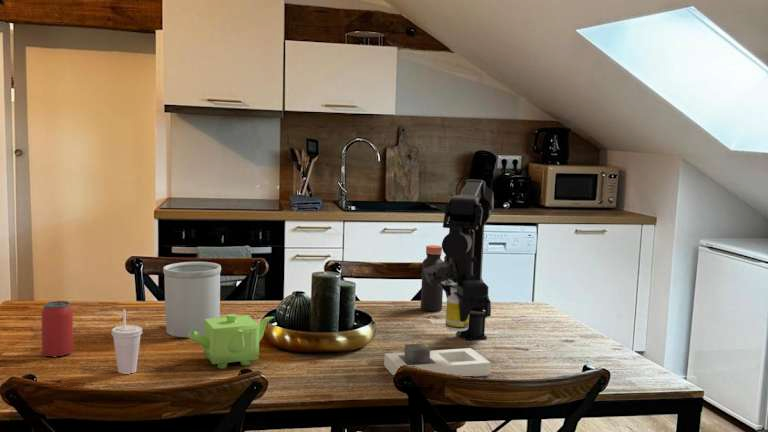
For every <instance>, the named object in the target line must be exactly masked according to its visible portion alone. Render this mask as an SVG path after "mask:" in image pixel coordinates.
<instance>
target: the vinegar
mask: <svg viewBox="0 0 768 432" xmlns="http://www.w3.org/2000/svg"><path fill="white" fill-rule="evenodd" d="M442 252H443V249H442V245H436V244H435V245H434V244H432V245H429V244H428V245H426V246H425V255H426V258H424V260H423V261H422V263H421V264H422V265H421V267H422V268H421V269H422V271H421V288H420V290H421V293H420V309H421V310H422V311H424V312H433V313H435V312H441V311H442V310H443V293H444V290H443V289H442V288H441V287H440V286H439V285H434V286H433V285H431V284H430V283H427V281H426V278H425V274H424V271H423V270H424V269H425V268H428V267H430V266H433V265H435V264H438V263H441V262H444V260H442V258H441V256H442V254H443V253H442ZM440 283H441V282H440Z"/></svg>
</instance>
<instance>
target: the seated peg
mask: <svg viewBox="0 0 768 432" xmlns="http://www.w3.org/2000/svg"><path fill="white" fill-rule="evenodd" d="M430 351H431V348H429V347H428V346H427V345H426V344H424V343H412V344H411V343H410V344H408V343H407V344H404V352H405V355H404V362H405V363H406V364H407V365H419V364H429V363H430Z"/></svg>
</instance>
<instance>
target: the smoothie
mask: <svg viewBox="0 0 768 432" xmlns="http://www.w3.org/2000/svg"><path fill="white" fill-rule="evenodd" d="M126 313H127V311H126V308H125V309H122V325H119V326H116V327H114V328H112V329H111V336H112V338H113V343H114V344H113V345H114V352H115V357H116V358H115V359H116V365H117V366H116V367H117V372H119V373H123V374H129V375H131V374H130V373H133V374H135V373H136V372H137V369H138V368H137V366H138V360H139V359H138V357H139V352H140V343H141V342H140V341H141V337H142V336H141V335H142V334H143V327H141V326H140V325H133V324H129V325H127V322H126V321H127V320H126V319H127V318H126V317H127V316H126ZM134 372H135V373H134ZM119 373H118V374H119Z"/></svg>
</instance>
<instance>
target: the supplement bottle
mask: <svg viewBox="0 0 768 432" xmlns="http://www.w3.org/2000/svg"><path fill="white" fill-rule="evenodd" d="M454 292H457V286H452V287H451V291H450V293H451V295H450V296H448V298H447V297H446V309H445V325H444V327H445V328H446V329H447V330H449V331H453V332H457V331H466V330H467V329H468V326H469V315H468V317H467V319H466V321H464V322H461V321H460V313H459V300H458V298H457V297H456V296H455V295H454Z"/></svg>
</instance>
